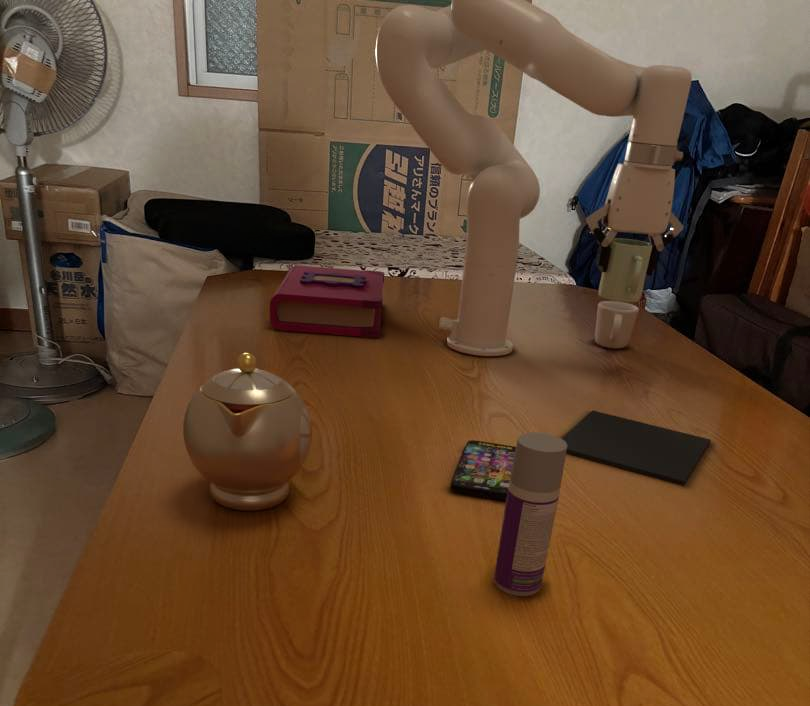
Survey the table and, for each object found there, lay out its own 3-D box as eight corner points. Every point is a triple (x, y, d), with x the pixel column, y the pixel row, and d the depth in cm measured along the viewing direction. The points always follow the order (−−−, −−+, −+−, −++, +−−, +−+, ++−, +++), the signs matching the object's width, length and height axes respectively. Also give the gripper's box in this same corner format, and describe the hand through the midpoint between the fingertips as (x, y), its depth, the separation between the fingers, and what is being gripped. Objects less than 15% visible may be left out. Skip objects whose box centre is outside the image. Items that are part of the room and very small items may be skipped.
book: (269, 330, 147) (269, 289, 143) (288, 297, 171) (288, 261, 168) (379, 338, 148) (382, 298, 144) (382, 304, 172) (385, 269, 168)
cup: (631, 357, 151) (641, 316, 147) (590, 351, 152) (599, 310, 148) (629, 343, 160) (638, 303, 156) (590, 338, 161) (598, 299, 157)
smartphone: (448, 484, 92) (467, 438, 105) (447, 491, 92) (466, 445, 105) (513, 495, 91) (525, 448, 103) (512, 502, 91) (524, 454, 104)
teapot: (303, 531, 82) (306, 381, 73) (173, 523, 81) (160, 371, 73) (317, 461, 97) (321, 331, 89) (208, 454, 96) (201, 322, 88)
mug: (593, 290, 137) (603, 237, 132) (632, 293, 137) (644, 240, 133) (609, 304, 128) (621, 247, 123) (651, 307, 129) (665, 251, 124)
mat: (552, 449, 107) (553, 445, 106) (591, 413, 121) (592, 410, 120) (684, 485, 100) (685, 481, 99) (709, 443, 114) (710, 439, 113)
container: (489, 569, 78) (511, 430, 70) (534, 570, 78) (561, 432, 71) (498, 596, 74) (522, 451, 66) (545, 597, 74) (575, 453, 67)
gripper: (692, 159, 127) (665, 271, 136) (589, 150, 125) (569, 264, 134) (711, 163, 121) (681, 280, 129) (602, 153, 119) (580, 273, 128)
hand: (624, 271), depth 132 cm, fingers closed on mug, 7 cm apart
